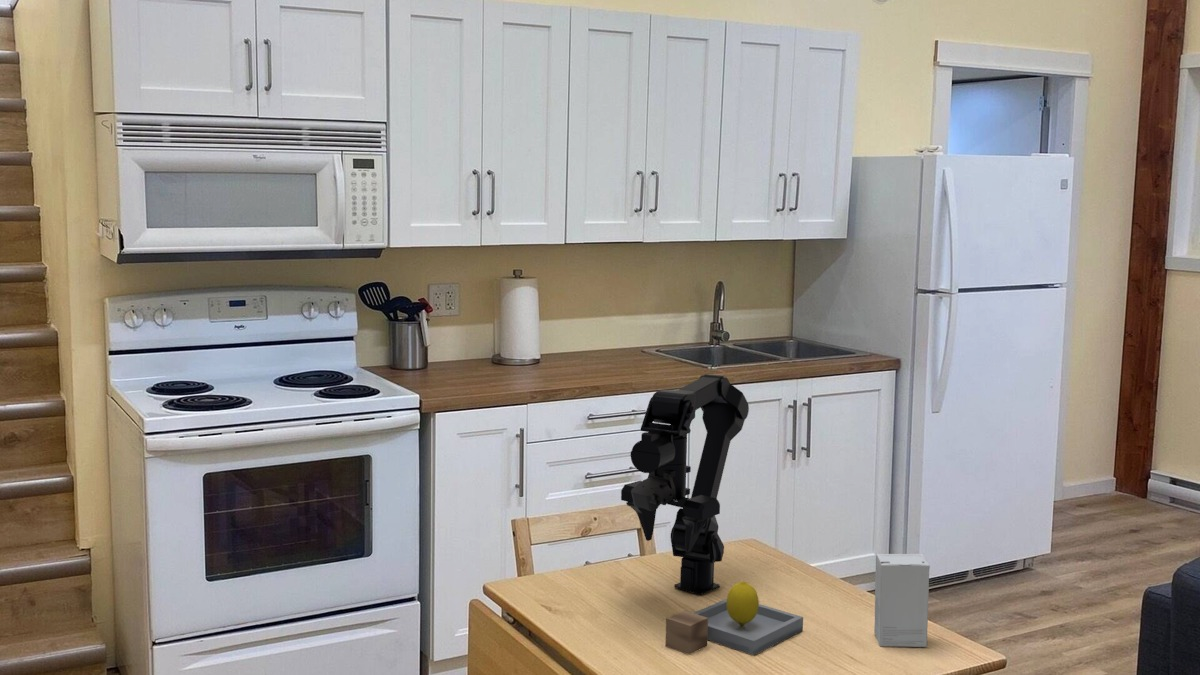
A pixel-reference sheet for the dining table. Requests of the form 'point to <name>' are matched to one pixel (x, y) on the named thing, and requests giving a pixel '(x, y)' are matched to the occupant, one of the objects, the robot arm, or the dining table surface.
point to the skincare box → (901, 600)
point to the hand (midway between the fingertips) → (668, 545)
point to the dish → (750, 628)
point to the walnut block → (686, 632)
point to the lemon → (742, 603)
